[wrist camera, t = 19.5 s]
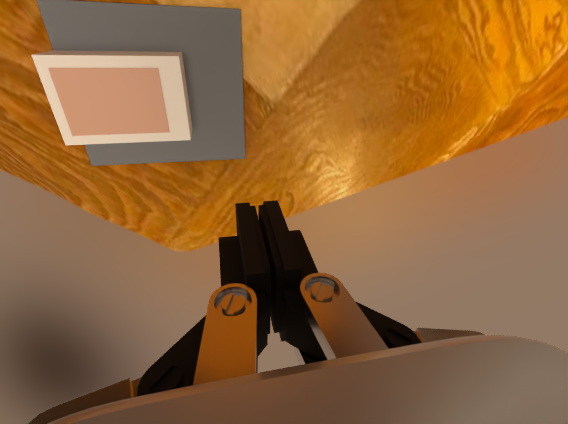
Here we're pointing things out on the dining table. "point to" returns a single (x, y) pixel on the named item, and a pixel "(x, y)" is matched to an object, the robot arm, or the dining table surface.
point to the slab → (116, 95)
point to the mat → (166, 38)
